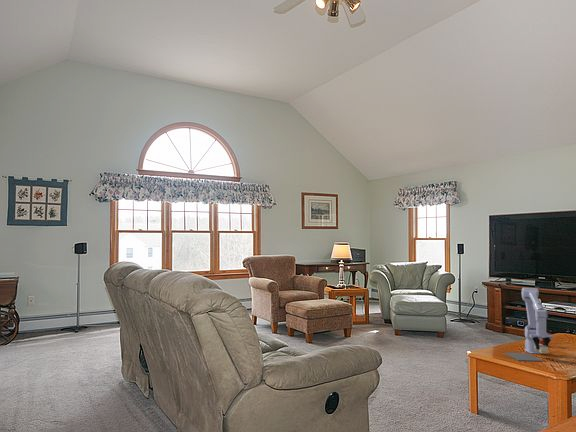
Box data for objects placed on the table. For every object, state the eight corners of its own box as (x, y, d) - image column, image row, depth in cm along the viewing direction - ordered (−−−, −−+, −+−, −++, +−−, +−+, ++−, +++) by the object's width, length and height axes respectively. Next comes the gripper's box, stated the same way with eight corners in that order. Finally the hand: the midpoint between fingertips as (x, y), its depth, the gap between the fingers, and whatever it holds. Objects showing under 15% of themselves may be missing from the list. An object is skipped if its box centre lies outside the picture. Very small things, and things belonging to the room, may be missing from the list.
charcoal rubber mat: (504, 353, 303) (504, 352, 303) (527, 354, 303) (527, 353, 303) (517, 360, 285) (517, 359, 285) (543, 361, 285) (543, 360, 285)
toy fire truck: (533, 345, 329) (533, 332, 330) (549, 345, 332) (549, 332, 332) (536, 346, 326) (536, 333, 327) (553, 346, 329) (553, 333, 329)
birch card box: (534, 350, 298) (534, 344, 299) (541, 350, 298) (541, 344, 298) (541, 353, 290) (541, 346, 291) (548, 353, 290) (548, 347, 291)
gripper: (533, 329, 291) (533, 350, 290) (556, 329, 291) (556, 350, 290) (527, 326, 298) (527, 347, 297) (549, 327, 298) (549, 348, 297)
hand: (541, 349), depth 294 cm, fingers closed on birch card box, 4 cm apart
